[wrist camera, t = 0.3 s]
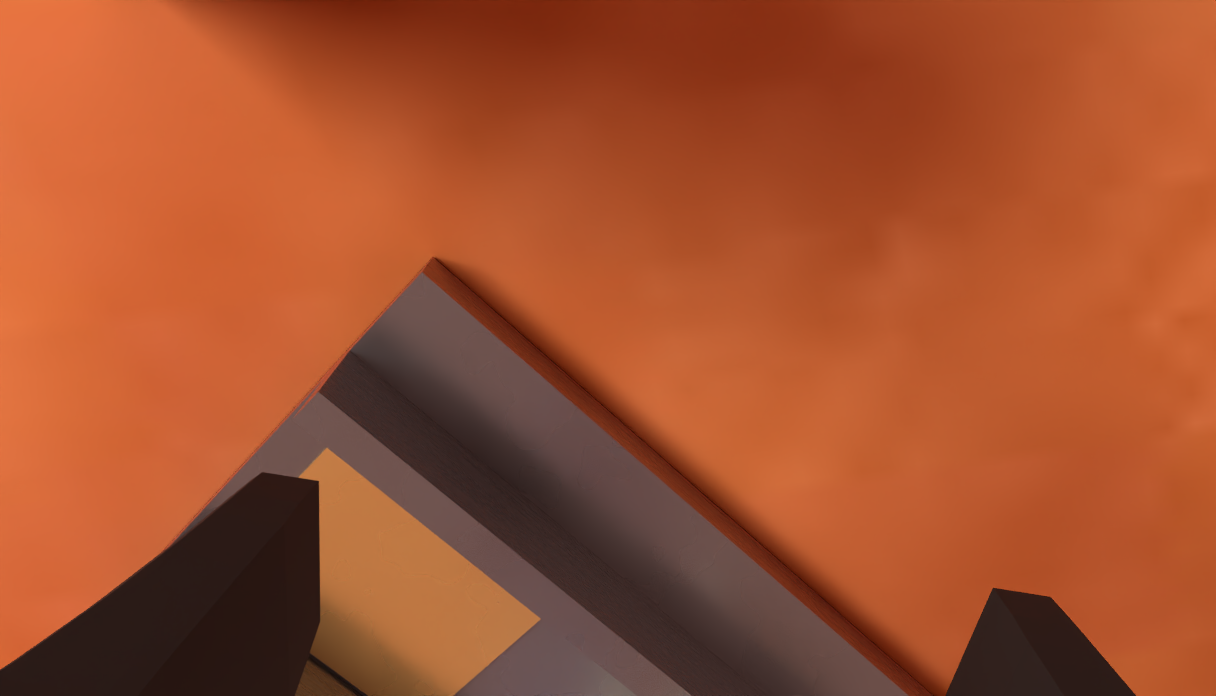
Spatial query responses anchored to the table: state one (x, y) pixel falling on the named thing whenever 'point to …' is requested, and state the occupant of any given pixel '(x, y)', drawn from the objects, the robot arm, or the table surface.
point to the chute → (528, 535)
